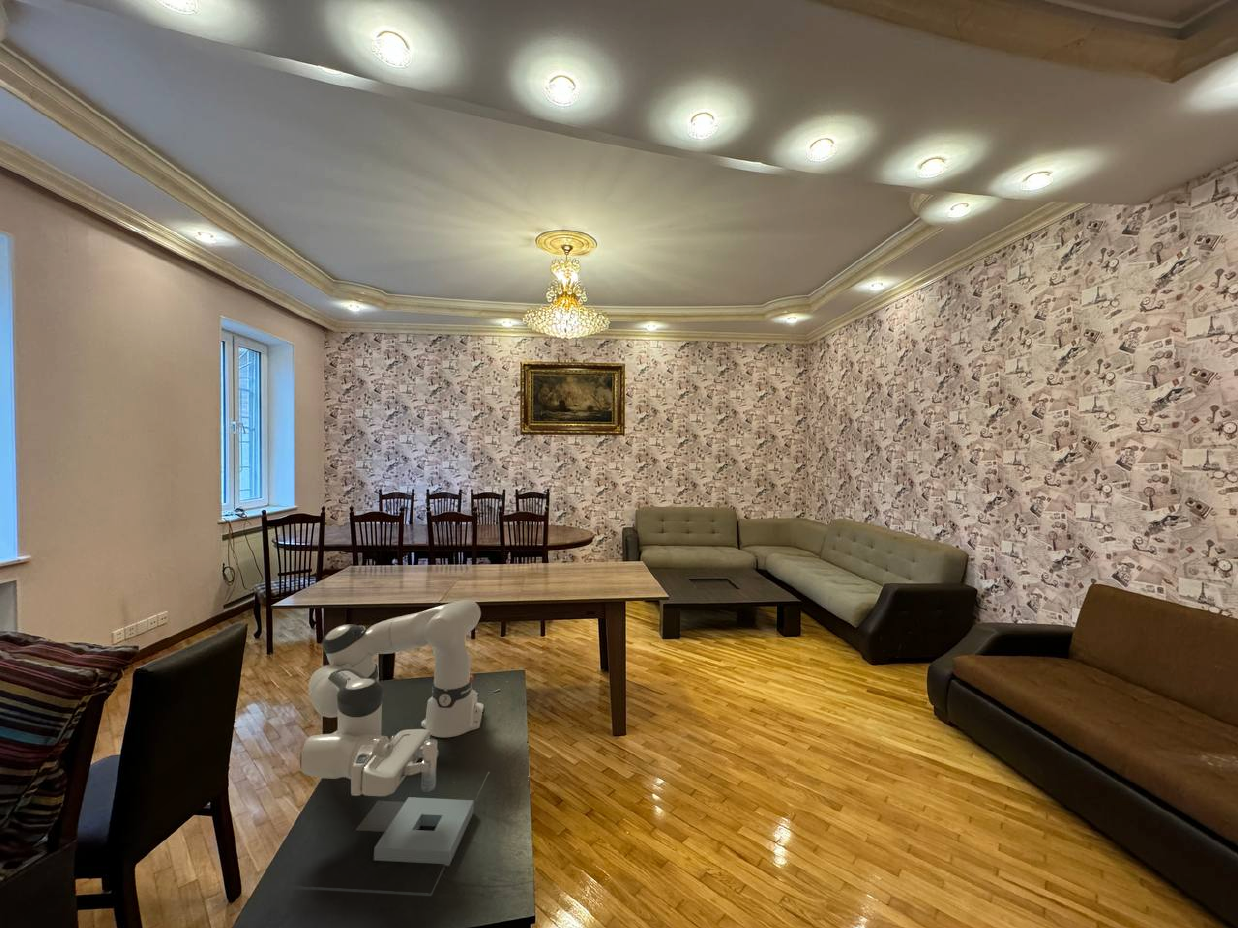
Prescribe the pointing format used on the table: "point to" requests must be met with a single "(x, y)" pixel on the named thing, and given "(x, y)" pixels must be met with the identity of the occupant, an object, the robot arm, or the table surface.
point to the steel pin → (431, 755)
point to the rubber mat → (380, 816)
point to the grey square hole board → (425, 845)
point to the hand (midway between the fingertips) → (433, 760)
